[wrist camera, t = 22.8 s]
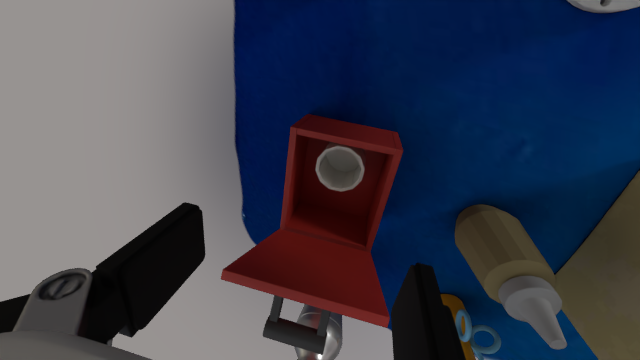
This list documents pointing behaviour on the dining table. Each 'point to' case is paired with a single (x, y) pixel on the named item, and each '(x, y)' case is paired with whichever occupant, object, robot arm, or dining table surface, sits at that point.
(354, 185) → the container
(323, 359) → the silver metal bottle
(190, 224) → the robot arm
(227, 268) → the red box lid
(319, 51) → the dining table surface
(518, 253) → the squeeze bottle
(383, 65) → the dining table surface
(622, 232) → the cheese
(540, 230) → the dining table surface
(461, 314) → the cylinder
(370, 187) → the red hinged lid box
